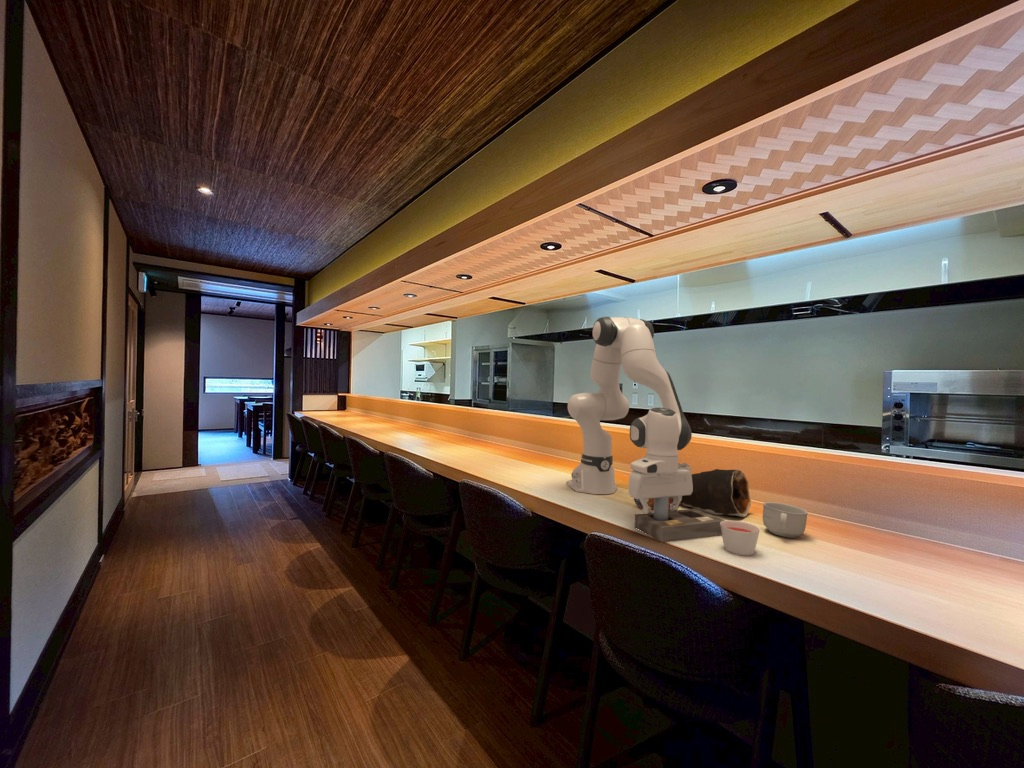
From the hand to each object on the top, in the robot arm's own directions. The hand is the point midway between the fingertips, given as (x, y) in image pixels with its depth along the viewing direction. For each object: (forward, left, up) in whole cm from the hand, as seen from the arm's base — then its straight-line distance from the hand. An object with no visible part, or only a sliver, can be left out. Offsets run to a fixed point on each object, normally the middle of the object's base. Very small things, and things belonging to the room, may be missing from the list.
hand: (660, 511), depth 121 cm
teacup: (+13, +33, -6) cm, 35 cm away
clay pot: (-14, +31, -6) cm, 34 cm away
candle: (+18, +11, -6) cm, 21 cm away
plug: (0, 0, -5) cm, 5 cm away
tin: (-17, +13, -6) cm, 22 cm away
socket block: (+2, +6, -6) cm, 8 cm away
